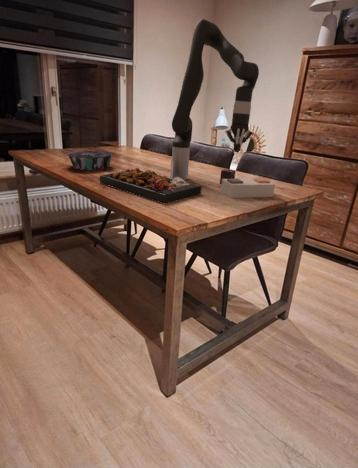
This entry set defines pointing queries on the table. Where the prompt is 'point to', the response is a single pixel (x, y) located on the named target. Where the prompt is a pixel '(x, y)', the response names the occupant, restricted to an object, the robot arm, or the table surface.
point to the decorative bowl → (90, 159)
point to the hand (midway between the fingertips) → (236, 151)
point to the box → (227, 174)
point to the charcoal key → (234, 181)
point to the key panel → (247, 189)
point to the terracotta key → (261, 180)
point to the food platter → (151, 185)
